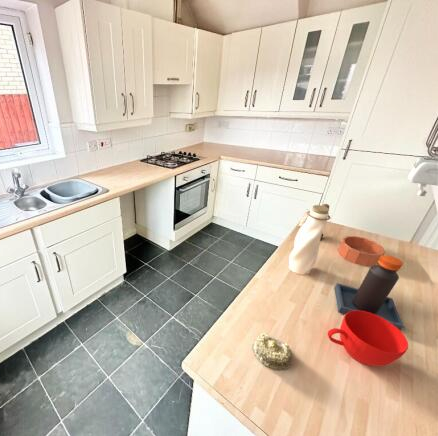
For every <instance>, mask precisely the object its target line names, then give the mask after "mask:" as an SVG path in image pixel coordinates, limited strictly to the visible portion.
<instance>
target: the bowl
mask: <svg viewBox="0 0 438 436" xmlns="http://www.w3.org/2000/svg"><path fill="white" fill-rule="evenodd" d="M337 252H338V255H339V256H340V257H342V259H344V260H346V261H348V262H350V263H353V264H355V265H359V266H362V267H372V266H374V265H378V261H379V259H380V257H381V256H382V255H385V253H386V250H385V248H384V247H383V246H382V245H381V244H379V243H378V242H376V241H374V240H371V239H368V238H367V237H361V236H356V235H346V236H344V237H343V238H342V239H341V242H340V243H339V245H338V248H337Z"/></svg>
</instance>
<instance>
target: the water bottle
mask: <svg viewBox="0 0 438 436" xmlns="http://www.w3.org/2000/svg"><path fill="white" fill-rule="evenodd" d="M329 212H330V208H329V209H328V208H327V207H325V206H322V204H320V205H319V204H315V205H313V206H312V208H311V209H308V208H307V209H305V211H304V213H303V215H302V217H301V219H300V221H299V223H298V226H300V228H299V230H298V232H297V233H296V236H295V239H294V242H293V243H294V244H293V250H292V251H291V253H290V254H289V259H288V268H289V270H290V271H292V272H293V273H295V274H297V275H301V276H308V275H309V274H310V273H311V270H312V269H313V267H314V265H315V264H316V261H317V258H318V255H319V252H320V251H319V250H320V245H321V240H320V238H321V235H322V233H323V232H324V230H325V227H326V225H327V221H329V220H331V216H330V215H329Z"/></svg>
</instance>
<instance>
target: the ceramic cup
mask: <svg viewBox="0 0 438 436" xmlns="http://www.w3.org/2000/svg"><path fill="white" fill-rule="evenodd" d="M335 334H339V337H340V340H339V339H336V338H333V335H335ZM327 337H328V339H329V340H330V341H331V342H332V343H334V344H336V345H339V346H343V348H344V350H345V351H346V353H347V354H348V355H349V356H350V357H351V358H352V359H353V360H355V361H356V362H358V363H360V364H363V365H366V366H372V367H383V366H388V365H391V364H394V363H395V362H396V361H398V360H399V359H400V358H402V357H403V355H405V354H406V353H407V351H408V349H409V343H408V342H409V341H408V340H407V338H406V336H405V335H404V333H403V332H402V331H400V330H399V329H398V328H397V327H395V326H394V325H393V324H391V323H390V322H388V321H387V320H385V319H383V318H382V317H380V316H377V315H375V314H372V313H369V312H366V311H360V310H354V311H350V312H348V313H347V314H346V315H345V314H344V316H343V318H342V321H341V324H340V328H338V327H337V328H336V327H335V328H330V329H329V330H328V331H327Z"/></svg>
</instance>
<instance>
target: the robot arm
mask: <svg viewBox="0 0 438 436" xmlns="http://www.w3.org/2000/svg"><path fill="white" fill-rule="evenodd" d="M407 180H408V181H409V182H410V183H411V184H417V187H418V192H417V196H419V197H425V196H426V195H427V193H428V192H427V191H426V189H425V190H424V188H425V187H427V185H429V186H431V185H432V186H438V156H431V155H426V156H422V157H419V158H418V159H417V160H416V161H415V163H414V165H413V168H412V169H411V171H409V174H408V175H407Z"/></svg>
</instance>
